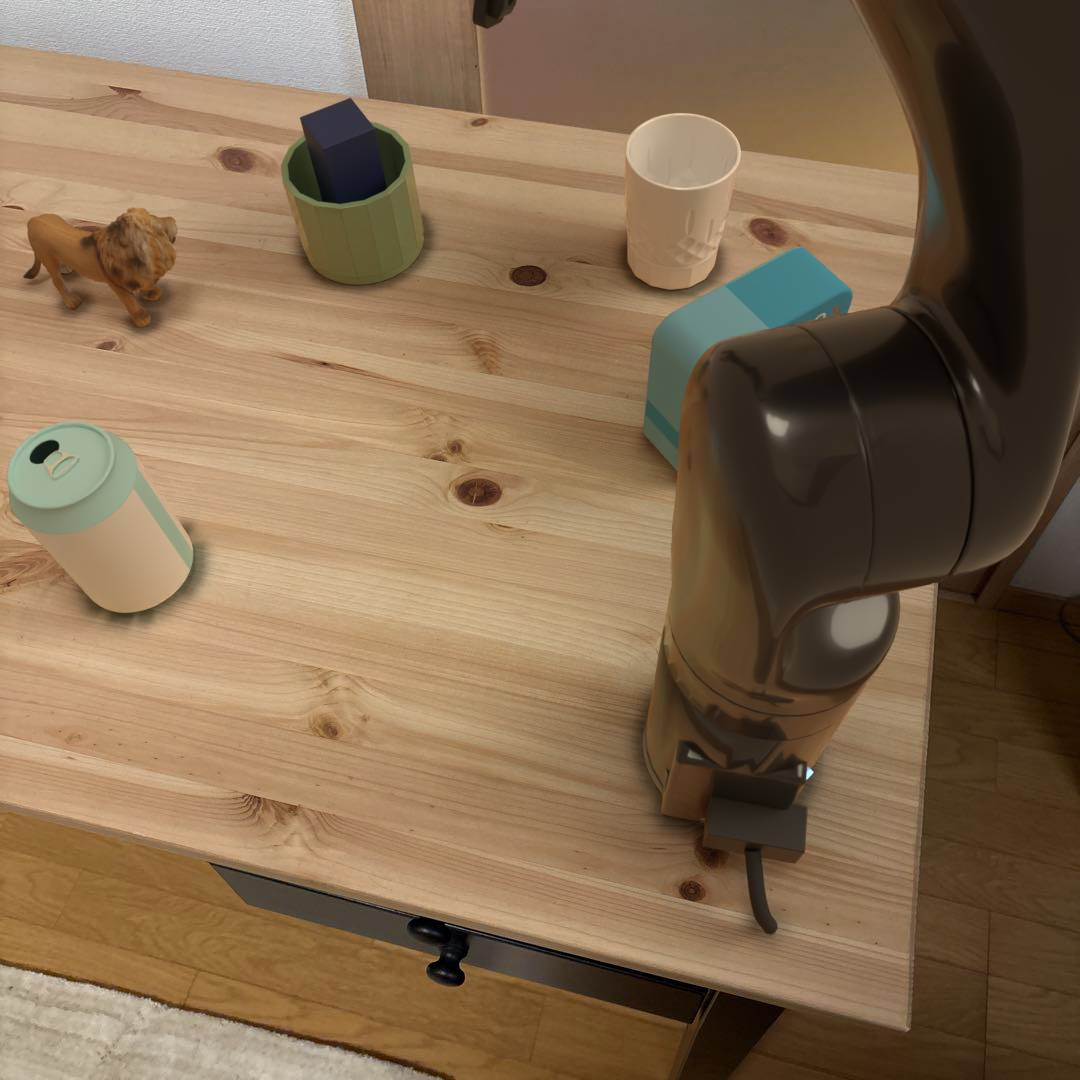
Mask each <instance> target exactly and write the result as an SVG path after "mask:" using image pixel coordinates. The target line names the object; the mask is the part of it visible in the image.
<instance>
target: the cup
mask: <svg viewBox="0 0 1080 1080" xmlns="http://www.w3.org/2000/svg"><path fill="white" fill-rule="evenodd" d="M370 123H371V124H372V125H373V126H374V128H375V130H376V135H377V140H378V145H379V150H380V155H381V160H382V166H383V171H384V176H385V181H386V186H387V189H386V190H385V191H383V192H381V193H378V194H376V195H374V196H372V197H370V198H368V199H366V200H362V201H356V202H349V203H343V204H336V203H328V202H322V198H321V194H320V191H319V187H318V183H317V180H316V176H315V172H314V169H313V165H312V161H311V158H310V154H309V150H308V146H307V143H306V139H305V135H304V134H303V135H302V136H301V137H299V138H298V139H297V140H296V141H295V142H293V144H291V145H290V146H289V147H288V149H287V151H286V153H285V155H284V157H283V159H282V162H281V164H280V171H281V180H282V181H281V182H282V184H283V188H284V191H285V194H286V198H287V201H288V203H289V207H290V210H291V213H292V217H293V220H294V223H295V226H296V231H297V233H298V237H299V239H300V242H301V247H302V249H303V252H304V253H305V255H306V258H307V260H308V262H309V264H310V265H311V267H312V268H313V269H314V270H315V272H317V273H318V274H320V275H321V276H323V277H325V278H326V279H328V280H330V281H333V282H335V283H340V284H343V285H345V284H346V285H352V286H353V285H354V286H356V285H357V286H358V285H359V286H360V285H361V286H363V285H372V284H377V283H380V282H383V281H387V280H389V279H392V278H394V277H396V276H397V275H400V274H401V273H403V272H405V270H407V269H408V268H409V267H410V266H412V264H413V263H414V262H415V261H416V260H417V258H418V257H419V255H420V254H421V252H422V249H423V246H424V243H425V229H424V224H423V219H422V212H421V207H420V200H419V195H418V189H417V182H416V176H415V171H414V164H413V160H412V154H411V150H410V149H411V148H410V145H409V144H408V142H407V141H406V140H405V139H404V138H403V137H402V136H401V135H400V134H399V133H398V132H397V131H396V130H394V129H393V128H390V127H388V126H385V125H383V124H381V123H378V122H375V121H370Z"/></svg>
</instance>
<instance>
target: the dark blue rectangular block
mask: <svg viewBox="0 0 1080 1080" xmlns="http://www.w3.org/2000/svg"><path fill="white" fill-rule="evenodd" d="M299 120H300V124H301V127H302V128H301V129H302V131H303V135H305V139H306V143H307V146H308V150H309V154H310V158H311V161H312V165H313V169H314V172H315V176H316V180H317V183H318V187H319V191H320V194H321V198H322V202H328V203H336V204H343V203H349V202H356V201H362V200H366V199H368V198H370V197H372V196H374V195H376V194H378V193H381V192H383V191H385V190H386V189H387V186H386V181H385V176H384V171H383V166H382V160H381V155H380V150H379V145H378V140H377V135H376V130H375V128H374V126H373V125H372V124H371V123H370V122H371V121H370V120H369V118H368V117H367V116H366V115H365V114H364V112H363V111H362V110H361V108H360V107H359V106H358V104H356V102H355V101H354V100H353V99H352V97H348V98H346V99H344V100H341V101H338V102H336V103H333V104H331V105H328V106H325V107H323V108H319V109H317V110H315V111H312V112H310V113H307V114H304V115H302V116H300V117H299Z"/></svg>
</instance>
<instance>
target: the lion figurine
mask: <svg viewBox="0 0 1080 1080" xmlns="http://www.w3.org/2000/svg"><path fill="white" fill-rule="evenodd" d="M176 222H177V220H176V219H175V218H174V217H173V216H164V217H163V216H162V217H161V216H160V217H159V216H157V215H155V214H151V213H150V212H149V211H147V208H144V207H140V208H138V207H133V206H132V207H129V208H127V210H126V212H123V213H121V215H118V216H117V217H116V220H114V221H112V222H111V223H109V225H108V226H106V227H103V228H102V229H99V230H95V231H89V230H83V229H80V228H78V227H76V226H72V224H69V223H68V222H67V221H66V220H65V219H64V218H63V217H62V216H60V215H58V214H56V213H43V214H40V215H37V216H31V218H29V219H28V221H27V223H26V227H27V239H28V242H29V245H30V247H31V249H32V251H33V255H34V260H33V265H32V267H31V268H29V269H28V270H27V271H26V272H25V274H23V276H22V277H23V279H26V280H34V279H35V278H36V277H37V276H38V275H39V273H40V271H41V266H43V267H44V268H45V269H46V271H47V273H48V274H49V276H50V278H51V280H52V285H53V286H54V287H55V289H56V290H57V291H58V293H59V295H60V297H61V299H62V301H63V303H64V305H65V306H66V308H68V309H70V310H72V309H73V310H74V309H76V308H78V306H80V305H81V303H82V300H81V298H80V296H79V295H77V294H76V293H73V292H72V291H71V290H70V289H69V287H68V286H67V284H66V282H65V280H64V278H63V276H62V274H70V273H72V272H73V271H75V272H76V273H77V274H79V275H80V276H82V277H83V278H86V279H88V280H91V281H93V282H96V283H101V284H107V285H108V287H109V288H110V289H111V291H112V292H113V293H114V294H115V295H116V296H117V298H118V300H119V301H120V302H121V304H122V306H124V308H125V309H126V311H127V312H128V314H129V316H130V318H131V319H132V322H133V323H134V325H136V326H137V327H139V328H144V327H146V326H148V325H150V324H151V320H152V317H151V315H150V314H149V313H147V312H146V310H145V309H144V308H143V307H142V306H141V305H139V303H138V300H137V297H136V295H135V292H139V294H140V296H141V297H142V298H143V299H145V300H147V301H154V302H155V301H158V300H159V299H161V298H162V292H163V291H162V290H161V288H160V287H159V286H156V285H157V284H158V282H159V281H160V279H161V278H163V277H164V276H165V275H166V274H167V273H168V272H170V271H172V269H173V268H174V266H175V265H176V260H177V249H176V248H175V247H174V245H175V244H176V243H177V238H176V237H177V235H178V234H179V233H178V232H179V231H178V226H177V223H176Z"/></svg>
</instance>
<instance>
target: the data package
mask: <svg viewBox="0 0 1080 1080" xmlns="http://www.w3.org/2000/svg"><path fill="white" fill-rule="evenodd" d="M853 297H854V292H853V290H852V288H851V287H849V285H847V284H846V283H845V282H844V281H843V280H842V279H840V278H839V276H837V275H836V274H835V273H834V272H832V271H831V269H829V268H828V267H827V266H826V265H825V264H824V263H822V262H821V260H819V259H818V258H817V257H816V256H814V255H813V254H812V253H811V252H810V251H809V250H808V249H806V247H803V246H794V247H792V248H789V249H787V250H785V251H783V252H781V253H779V254H778V255H775V256H774V257H772V258H770V259H768V260H767V261H765V262H763V263H761V264H759V265H757V266H755V267H754V268H752V269H750V270H748V271H746V272H745V273H742V274H740V275H739V276H737V277H735V278H733V279H731V280H730V281H727V282H726V283H724V284H722V285H720V286H718V287H716V288H714V289H712V290H711V291H709V292H707V293H705V294H703V295H701V296H699V297H697V298H696V299H694V300H692V301H690V302H688V303H686V304H685V305H683V306H681V307H679V308H677V309H675V310H674V311H671V312H670V313H669V314H668V315H667V316H665V318H663V319H662V321H660V323H659V324H658V325H657V327H656V329H655V330H654V332H653V335H652V338H651V346H650V355H649V364H648V365H649V366H648V367H649V368H648V374H647V383H646V385H647V386H646V397H645V405H644V413H643V414H644V415H643V426H642V432H643V435H644V436H645V437H646V438H647V440H648V441H649V442H650V443H651V444H652V445H653V446H654V447H655V448H656V449H657V451H658V452H659V453H660V454H661V455H662V456H663V457H664V458H665V460H666V461H667V462H668V463H669V464H670V465H671V466H672V467H673V468H674V470H675V471H676V472H677V466H678V444H679V428H680V418H681V409H682V402H683V398H684V393H685V389H686V385H687V382H688V380H689V377H690V375H691V372H692V370H693V368H694V366H695V365H696V363H697V361H698V360H699V358H700V357H701V356H702V355H703V354H704V352H705V351H706V350H707V349H708V348H710V347H711V346H712V345H714V344H715V343H717V342H719V341H721V340H723V339H726V338H730V337H733V336H737V335H742V334H747V333H751V332H756V331H761V330H766V329H771V328H775V327H781V326H788V325H792V324H796V323H801V322H806V321H812V320H817V319H822V318H827V317H832V316H837V315H842V314H847V313H849V310H850V308H851V305H852V302H853Z"/></svg>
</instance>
